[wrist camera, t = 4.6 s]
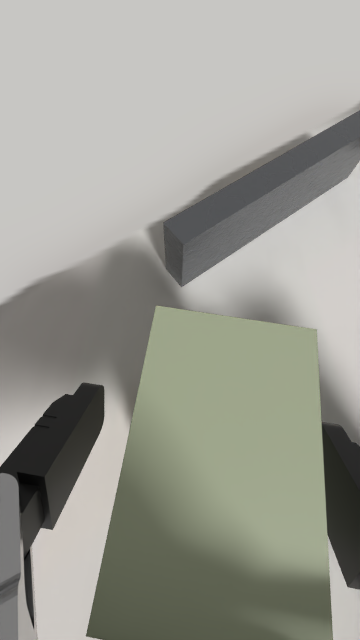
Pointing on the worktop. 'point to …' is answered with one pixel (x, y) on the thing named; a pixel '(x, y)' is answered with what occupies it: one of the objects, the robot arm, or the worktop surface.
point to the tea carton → (220, 489)
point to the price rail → (259, 200)
